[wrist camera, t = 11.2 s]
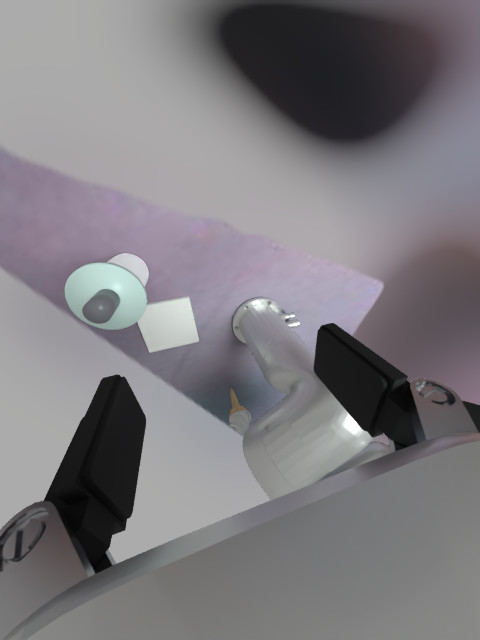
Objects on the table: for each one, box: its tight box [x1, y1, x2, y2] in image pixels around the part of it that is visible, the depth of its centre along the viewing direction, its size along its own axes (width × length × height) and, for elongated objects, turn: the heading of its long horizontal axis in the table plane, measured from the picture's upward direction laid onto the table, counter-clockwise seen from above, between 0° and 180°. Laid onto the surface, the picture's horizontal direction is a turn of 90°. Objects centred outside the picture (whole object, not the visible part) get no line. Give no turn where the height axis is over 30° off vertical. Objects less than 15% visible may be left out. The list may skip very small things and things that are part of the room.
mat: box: [137, 296, 199, 353], centre depth 43 cm, size 11×11×1 cm
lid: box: [65, 262, 147, 330], centre depth 25 cm, size 9×9×5 cm
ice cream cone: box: [229, 388, 251, 436], centre depth 51 cm, size 6×6×15 cm
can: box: [108, 253, 149, 287], centre depth 32 cm, size 6×6×12 cm
